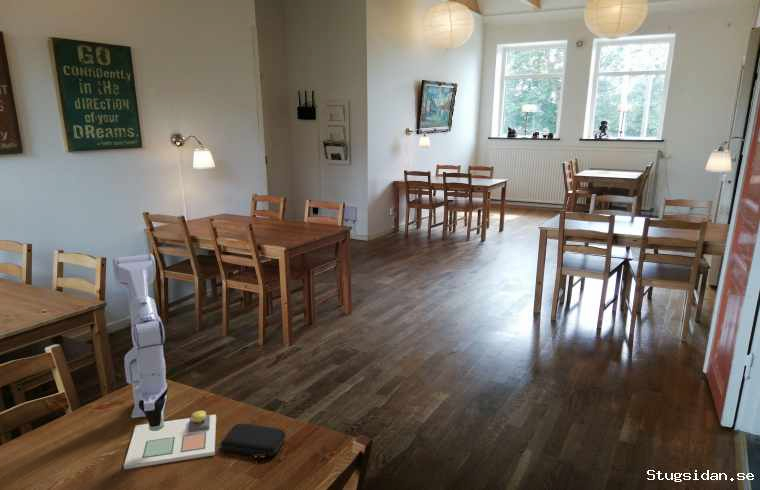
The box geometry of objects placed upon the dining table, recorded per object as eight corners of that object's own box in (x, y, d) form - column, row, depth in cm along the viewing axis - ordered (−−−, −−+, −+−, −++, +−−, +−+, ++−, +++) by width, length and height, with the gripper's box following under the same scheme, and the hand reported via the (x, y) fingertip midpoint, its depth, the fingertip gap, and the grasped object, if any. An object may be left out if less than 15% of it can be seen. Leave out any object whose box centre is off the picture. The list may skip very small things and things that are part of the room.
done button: (192, 418, 131) (192, 411, 130) (206, 416, 132) (206, 409, 132) (191, 426, 128) (191, 419, 127) (206, 424, 129) (205, 417, 128)
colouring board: (136, 428, 130) (135, 421, 129) (216, 417, 135) (215, 410, 135) (124, 469, 115) (123, 461, 114) (214, 455, 120) (214, 447, 120)
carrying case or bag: (215, 455, 121) (272, 464, 118) (214, 445, 120) (271, 453, 117) (235, 429, 131) (288, 437, 128) (235, 419, 130) (288, 426, 128)
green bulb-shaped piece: (150, 423, 121) (147, 401, 119) (165, 421, 122) (163, 400, 120) (147, 432, 118) (145, 409, 116) (163, 430, 118) (161, 408, 117)
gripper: (138, 357, 121) (143, 406, 125) (126, 387, 108) (132, 441, 111) (169, 354, 123) (173, 402, 127) (161, 383, 110) (166, 436, 113)
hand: (156, 420), depth 119 cm, fingers closed on green bulb-shaped piece, 3 cm apart
